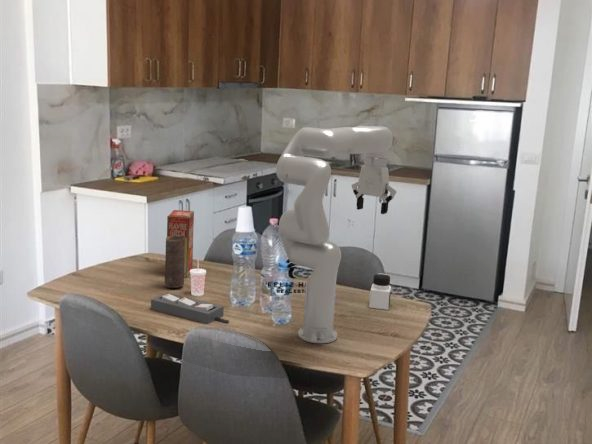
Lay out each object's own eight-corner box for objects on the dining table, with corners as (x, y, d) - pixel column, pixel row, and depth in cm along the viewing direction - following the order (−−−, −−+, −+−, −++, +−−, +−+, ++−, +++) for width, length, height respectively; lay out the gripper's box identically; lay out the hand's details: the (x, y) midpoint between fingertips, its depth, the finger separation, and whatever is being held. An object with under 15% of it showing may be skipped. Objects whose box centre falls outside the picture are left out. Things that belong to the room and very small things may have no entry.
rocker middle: (195, 305, 222) (196, 302, 222) (189, 308, 219) (189, 305, 219) (184, 300, 224) (184, 297, 224) (177, 303, 221) (178, 300, 221)
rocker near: (213, 307, 219) (212, 304, 218) (206, 310, 216) (206, 307, 215) (201, 307, 221) (200, 303, 221) (194, 310, 218) (194, 306, 218)
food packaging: (188, 278, 260) (189, 217, 254) (164, 276, 260) (165, 216, 254) (193, 268, 273) (194, 210, 267) (171, 267, 273) (171, 209, 267)
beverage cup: (186, 292, 242) (186, 256, 239) (200, 290, 246) (201, 254, 243) (194, 297, 237) (195, 260, 234) (208, 294, 241) (209, 258, 238)
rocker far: (179, 301, 225) (180, 298, 225) (172, 304, 222) (173, 301, 222) (168, 296, 227) (168, 293, 227) (161, 299, 224) (162, 296, 224)
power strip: (235, 319, 218) (235, 309, 218) (220, 327, 211) (220, 317, 210) (167, 301, 231) (167, 292, 231) (150, 308, 224) (151, 299, 223)
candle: (186, 289, 246) (186, 238, 241) (166, 291, 243) (167, 239, 239) (181, 283, 252) (182, 233, 248) (163, 284, 250) (163, 234, 245)
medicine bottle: (388, 310, 235) (391, 278, 233) (369, 307, 236) (371, 276, 234) (389, 304, 242) (392, 273, 239) (370, 301, 243) (373, 271, 241)
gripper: (348, 160, 224) (345, 208, 227) (392, 166, 214) (388, 216, 217) (359, 159, 230) (356, 206, 233) (403, 164, 220) (398, 214, 223)
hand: (371, 211), depth 225 cm, fingers open, 9 cm apart
